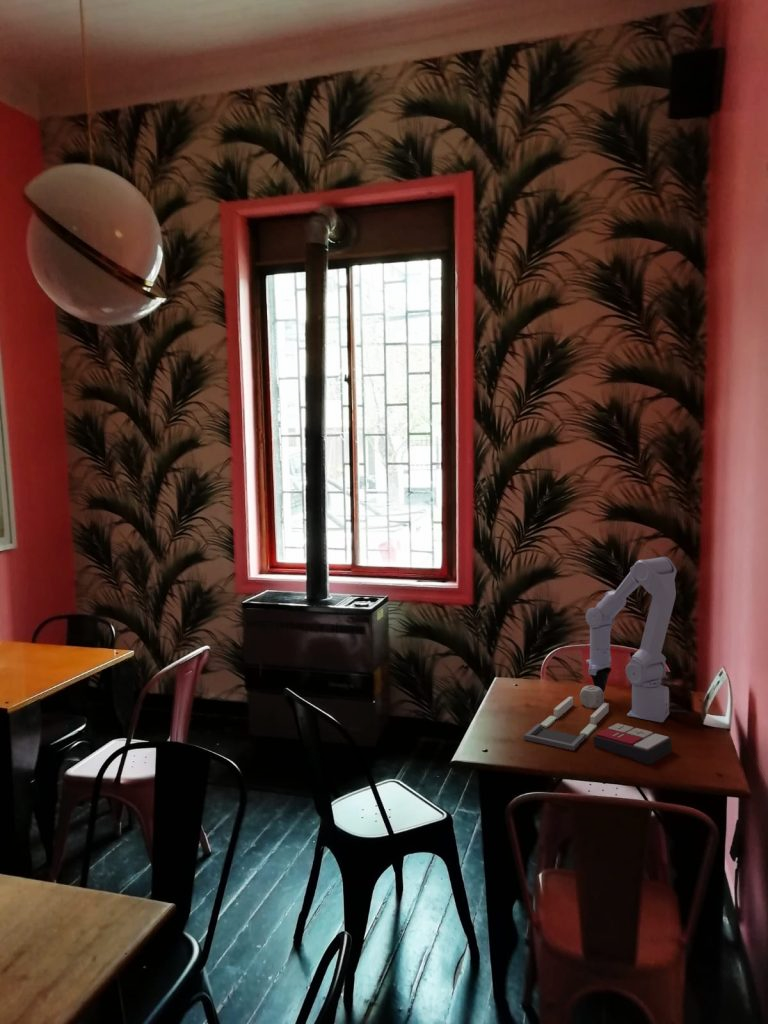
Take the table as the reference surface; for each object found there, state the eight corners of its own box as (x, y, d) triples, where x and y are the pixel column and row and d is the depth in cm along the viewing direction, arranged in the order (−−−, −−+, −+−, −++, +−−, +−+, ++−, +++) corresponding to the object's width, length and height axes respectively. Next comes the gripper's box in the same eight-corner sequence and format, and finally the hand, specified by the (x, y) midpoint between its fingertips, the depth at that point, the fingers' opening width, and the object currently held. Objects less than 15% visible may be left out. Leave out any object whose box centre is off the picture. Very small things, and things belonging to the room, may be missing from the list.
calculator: (616, 721, 184) (671, 735, 173) (617, 737, 185) (672, 752, 173) (592, 732, 177) (648, 748, 166) (593, 749, 177) (649, 766, 166)
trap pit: (586, 738, 182) (586, 733, 182) (573, 750, 175) (573, 746, 175) (538, 727, 189) (538, 723, 189) (524, 739, 182) (524, 735, 182)
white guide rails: (608, 711, 200) (608, 703, 199) (594, 725, 190) (594, 717, 190) (569, 704, 206) (569, 696, 206) (553, 717, 196) (553, 709, 196)
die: (579, 705, 206) (579, 688, 205) (589, 700, 209) (589, 684, 208) (595, 709, 202) (595, 692, 201) (604, 705, 205) (604, 688, 205)
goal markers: (596, 727, 189) (596, 724, 189) (587, 736, 183) (587, 734, 183) (550, 717, 196) (550, 715, 196) (539, 726, 190) (539, 724, 190)
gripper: (594, 639, 218) (594, 683, 219) (578, 651, 206) (578, 697, 207) (617, 643, 214) (617, 687, 215) (602, 655, 202) (602, 701, 203)
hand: (600, 692), depth 211 cm, fingers closed
